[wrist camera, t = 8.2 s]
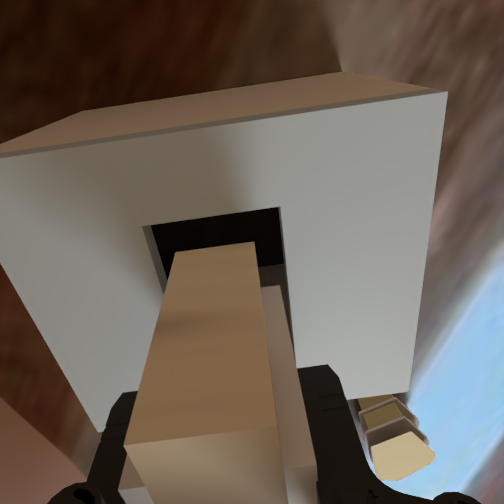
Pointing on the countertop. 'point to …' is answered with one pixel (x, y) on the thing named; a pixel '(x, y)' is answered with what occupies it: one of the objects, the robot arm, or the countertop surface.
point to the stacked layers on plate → (393, 437)
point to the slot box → (226, 202)
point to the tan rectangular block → (209, 388)
